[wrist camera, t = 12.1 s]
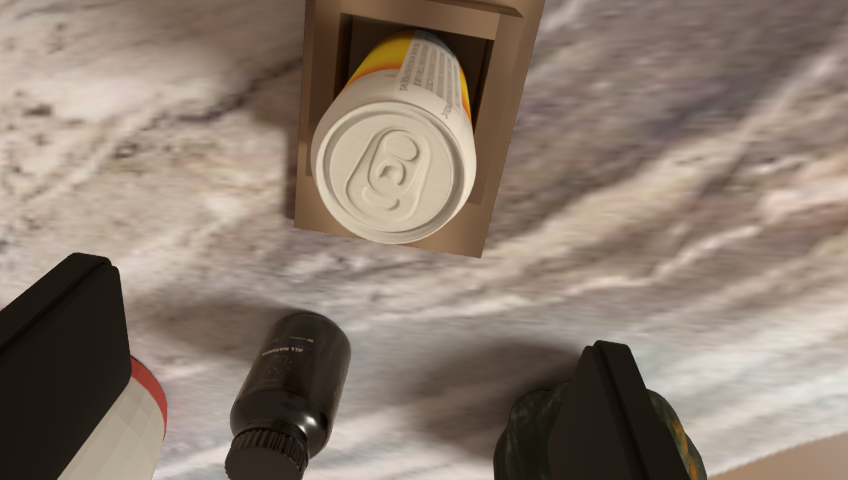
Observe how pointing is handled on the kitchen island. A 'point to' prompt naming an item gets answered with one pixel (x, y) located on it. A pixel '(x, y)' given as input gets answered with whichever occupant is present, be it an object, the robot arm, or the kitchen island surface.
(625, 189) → the kitchen island surface
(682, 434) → the squash
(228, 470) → the supplement bottle
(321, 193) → the beer can
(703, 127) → the kitchen island surface
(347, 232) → the can caddy
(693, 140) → the kitchen island surface
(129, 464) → the citrus juicer
